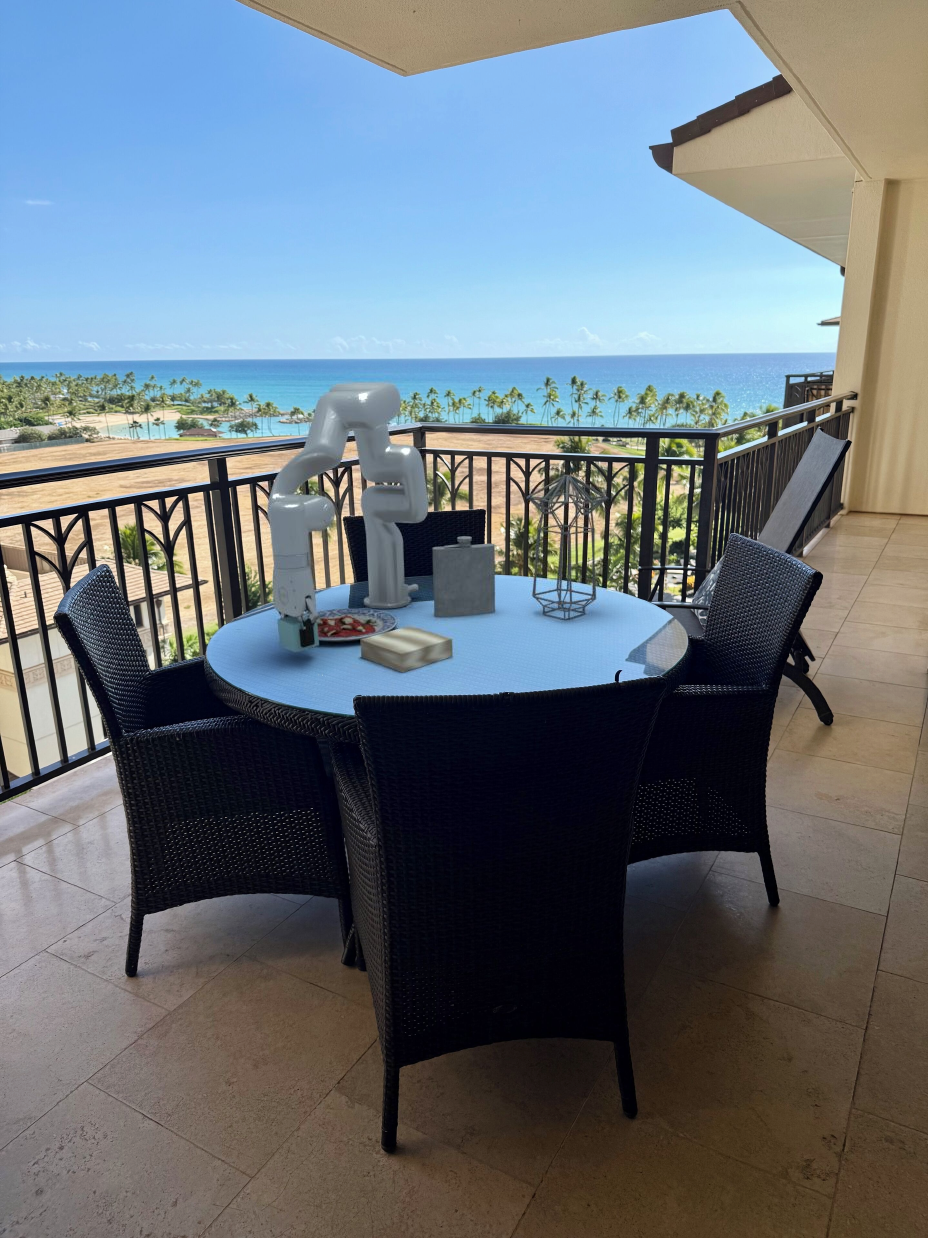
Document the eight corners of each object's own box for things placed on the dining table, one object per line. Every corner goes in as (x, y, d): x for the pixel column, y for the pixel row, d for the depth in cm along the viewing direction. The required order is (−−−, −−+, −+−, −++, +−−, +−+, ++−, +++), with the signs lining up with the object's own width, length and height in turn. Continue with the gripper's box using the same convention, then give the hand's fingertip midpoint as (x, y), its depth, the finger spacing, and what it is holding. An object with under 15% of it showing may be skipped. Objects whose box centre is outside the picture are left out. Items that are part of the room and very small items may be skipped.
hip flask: (493, 609, 210) (492, 533, 205) (497, 613, 207) (497, 536, 201) (433, 614, 207) (431, 537, 201) (436, 618, 203) (434, 540, 197)
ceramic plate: (293, 653, 179) (292, 640, 179) (285, 621, 203) (284, 610, 202) (407, 642, 186) (406, 629, 185) (387, 612, 210) (386, 601, 209)
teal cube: (303, 639, 179) (301, 613, 177) (318, 645, 175) (316, 618, 173) (279, 645, 175) (277, 619, 173) (295, 652, 171) (292, 625, 169)
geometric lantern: (520, 614, 206) (522, 475, 197) (562, 604, 216) (565, 471, 207) (567, 626, 195) (571, 478, 186) (608, 614, 205) (614, 474, 196)
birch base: (410, 642, 185) (410, 625, 183) (452, 656, 175) (452, 638, 174) (361, 657, 175) (360, 639, 174) (402, 672, 166) (401, 653, 164)
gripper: (254, 557, 173) (262, 637, 178) (299, 570, 161) (306, 656, 166) (285, 551, 178) (292, 629, 183) (330, 563, 166) (336, 647, 171)
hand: (299, 641), depth 174 cm, fingers closed on teal cube, 6 cm apart
